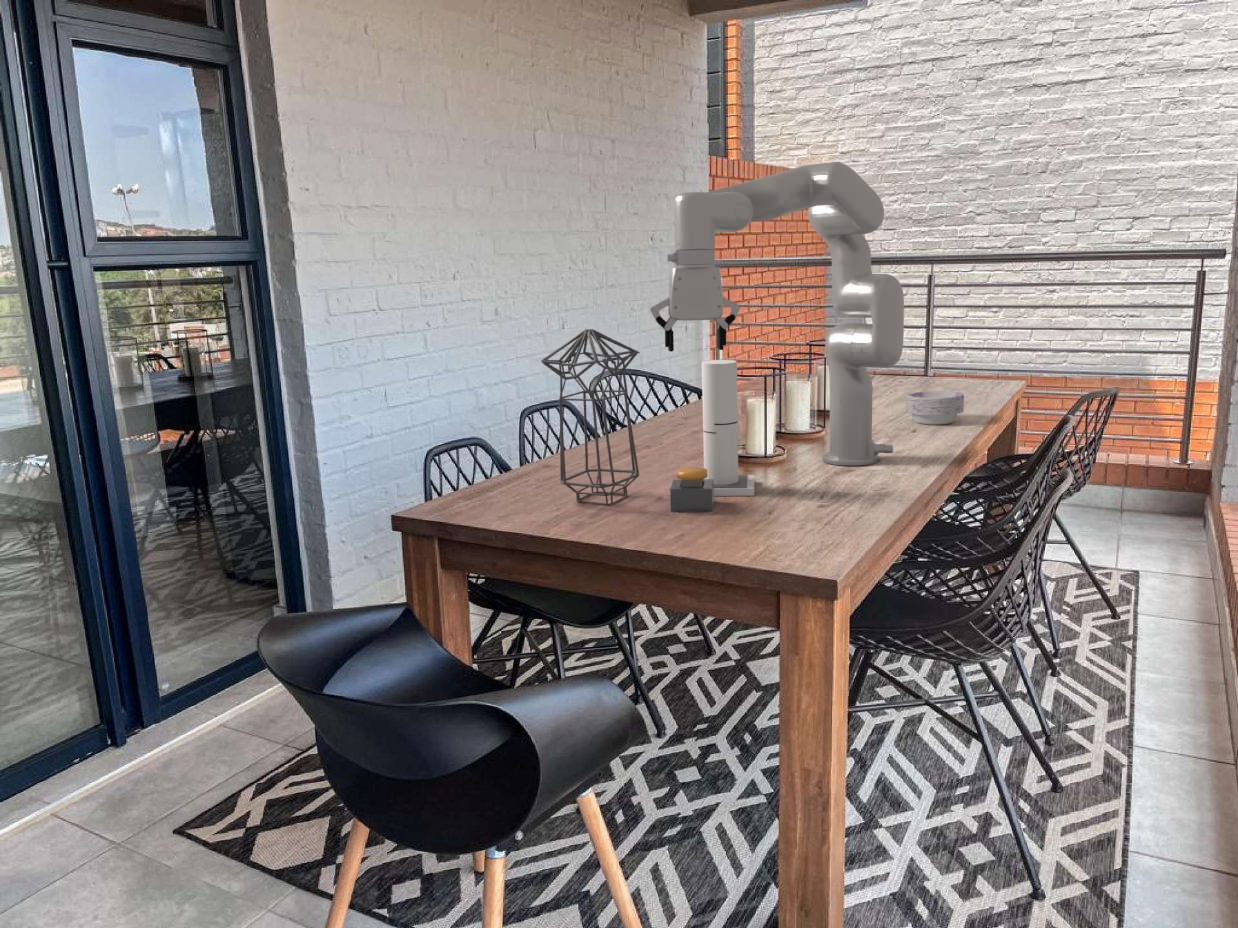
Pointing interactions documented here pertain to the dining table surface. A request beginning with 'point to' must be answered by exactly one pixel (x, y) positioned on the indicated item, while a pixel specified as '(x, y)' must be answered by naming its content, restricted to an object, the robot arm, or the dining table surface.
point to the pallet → (737, 487)
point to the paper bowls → (934, 406)
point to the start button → (692, 476)
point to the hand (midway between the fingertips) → (695, 350)
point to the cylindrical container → (720, 420)
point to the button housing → (692, 497)
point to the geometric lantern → (579, 344)
